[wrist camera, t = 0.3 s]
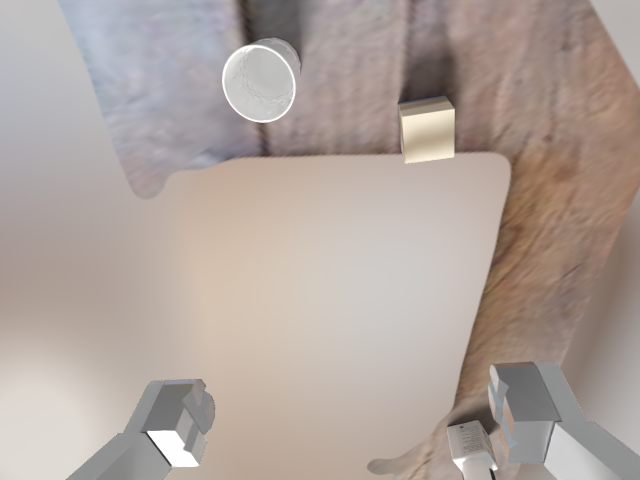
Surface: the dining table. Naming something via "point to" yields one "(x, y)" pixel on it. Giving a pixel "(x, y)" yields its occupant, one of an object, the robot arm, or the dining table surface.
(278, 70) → the white cup
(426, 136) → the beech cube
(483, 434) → the container
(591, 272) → the dining table surface
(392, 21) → the dining table surface
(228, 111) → the dining table surface
